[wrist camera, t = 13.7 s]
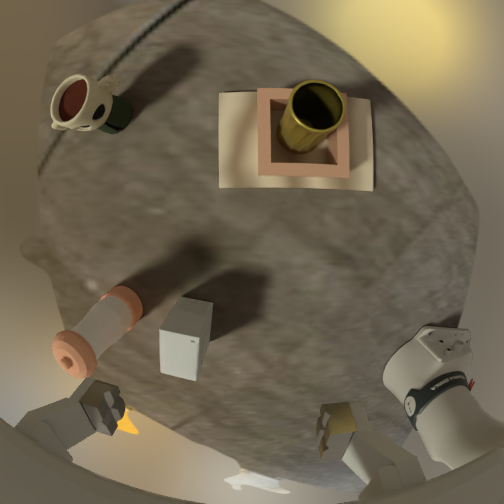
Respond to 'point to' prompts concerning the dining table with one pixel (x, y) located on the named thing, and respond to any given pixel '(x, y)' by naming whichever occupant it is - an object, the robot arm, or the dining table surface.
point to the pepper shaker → (97, 331)
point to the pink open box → (334, 169)
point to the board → (246, 150)
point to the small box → (185, 338)
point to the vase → (310, 116)
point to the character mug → (89, 105)
